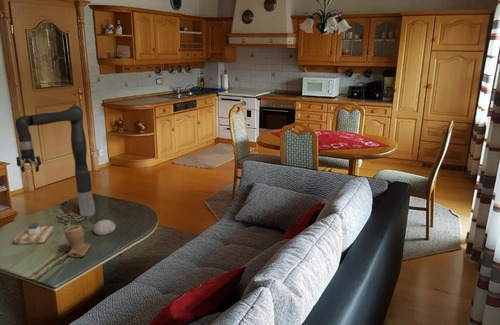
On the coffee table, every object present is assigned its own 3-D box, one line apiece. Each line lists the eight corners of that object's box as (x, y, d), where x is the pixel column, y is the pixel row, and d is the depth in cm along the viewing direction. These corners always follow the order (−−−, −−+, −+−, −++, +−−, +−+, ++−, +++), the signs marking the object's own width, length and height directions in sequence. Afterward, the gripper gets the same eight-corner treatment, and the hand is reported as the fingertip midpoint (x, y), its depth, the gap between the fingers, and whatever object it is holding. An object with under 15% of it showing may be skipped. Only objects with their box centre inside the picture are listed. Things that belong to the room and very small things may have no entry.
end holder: (53, 232, 256) (53, 226, 255) (43, 244, 241) (42, 237, 240) (27, 233, 255) (26, 227, 254) (15, 244, 240) (14, 238, 239)
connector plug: (40, 235, 250) (38, 223, 248) (37, 238, 246) (35, 226, 244) (33, 235, 250) (31, 223, 248) (29, 238, 246) (27, 226, 243)
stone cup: (72, 246, 238) (68, 222, 234) (92, 245, 239) (89, 222, 235) (61, 259, 224) (58, 234, 219) (83, 258, 224) (80, 233, 220)
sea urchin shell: (92, 238, 249) (91, 225, 246) (94, 228, 261) (93, 217, 259) (115, 235, 252) (114, 223, 250) (116, 226, 265) (115, 215, 262)
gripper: (40, 146, 265) (44, 170, 269) (17, 146, 264) (21, 170, 268) (35, 148, 258) (39, 173, 262) (12, 149, 257) (16, 173, 261)
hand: (30, 171), depth 265 cm, fingers open, 8 cm apart
